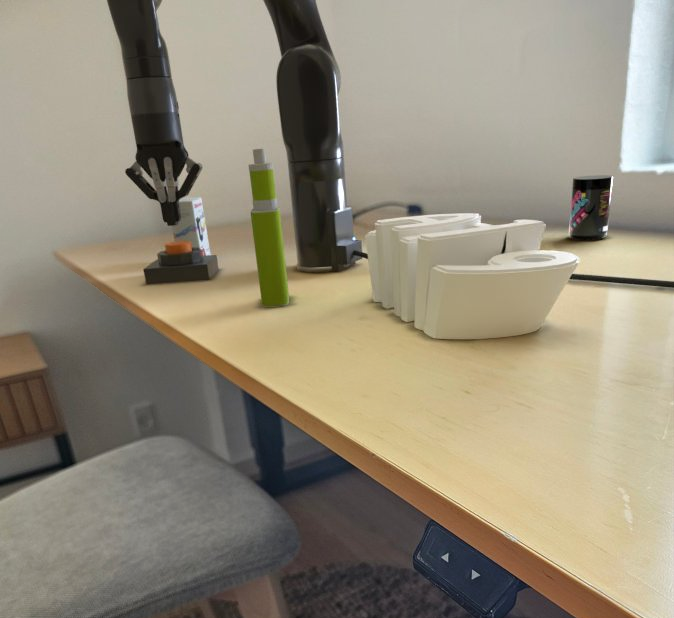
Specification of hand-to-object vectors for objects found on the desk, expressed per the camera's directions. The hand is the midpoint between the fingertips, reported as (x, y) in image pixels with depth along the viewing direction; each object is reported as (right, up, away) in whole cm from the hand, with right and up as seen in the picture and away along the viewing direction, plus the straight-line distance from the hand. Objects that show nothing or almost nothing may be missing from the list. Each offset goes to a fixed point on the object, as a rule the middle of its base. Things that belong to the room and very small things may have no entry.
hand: (173, 224), depth 112 cm
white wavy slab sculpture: (+43, -21, -28) cm, 56 cm away
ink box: (0, -2, +17) cm, 17 cm away
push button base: (+1, -8, +4) cm, 9 cm away
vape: (+19, -17, -18) cm, 32 cm away
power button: (+1, -4, +2) cm, 5 cm away
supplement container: (+74, +1, +9) cm, 75 cm away
